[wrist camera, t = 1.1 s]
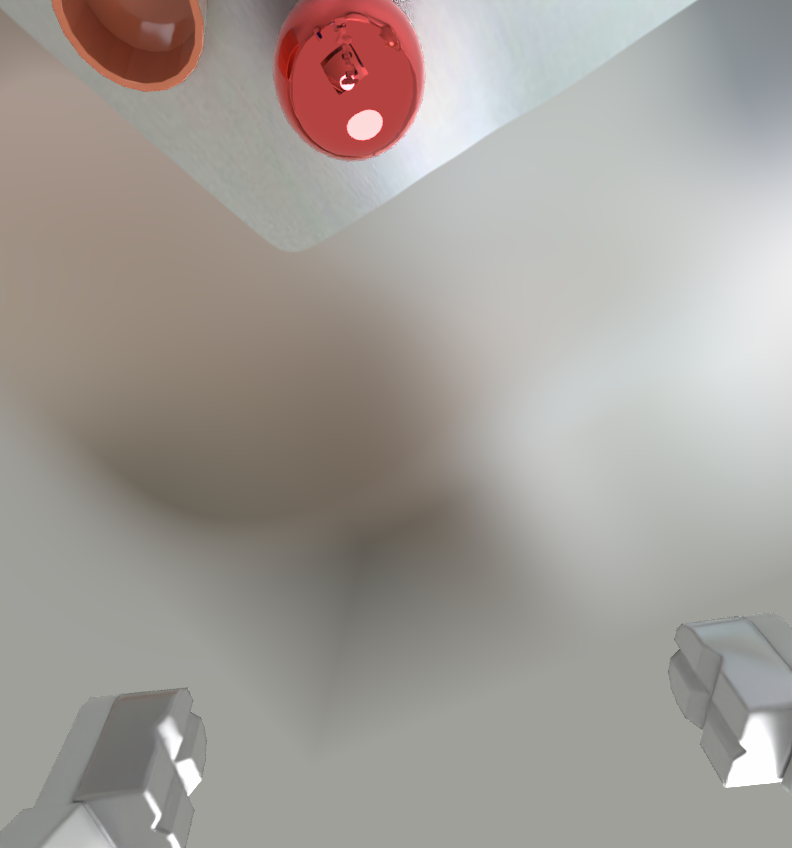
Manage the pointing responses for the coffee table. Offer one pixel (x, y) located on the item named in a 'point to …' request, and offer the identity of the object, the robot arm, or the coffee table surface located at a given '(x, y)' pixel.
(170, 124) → the coffee table surface
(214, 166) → the coffee table surface
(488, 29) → the coffee table surface
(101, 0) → the cup
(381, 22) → the ball
